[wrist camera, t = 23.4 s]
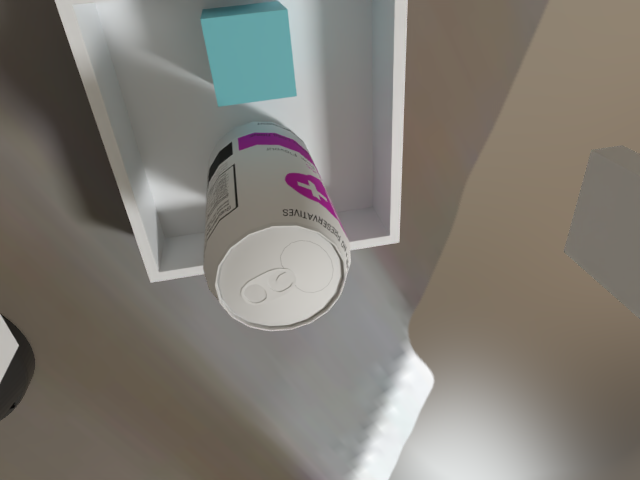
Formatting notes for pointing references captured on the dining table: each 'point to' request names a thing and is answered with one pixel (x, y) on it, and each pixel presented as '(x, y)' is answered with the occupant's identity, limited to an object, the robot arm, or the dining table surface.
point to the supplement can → (271, 230)
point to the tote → (241, 112)
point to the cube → (249, 52)
